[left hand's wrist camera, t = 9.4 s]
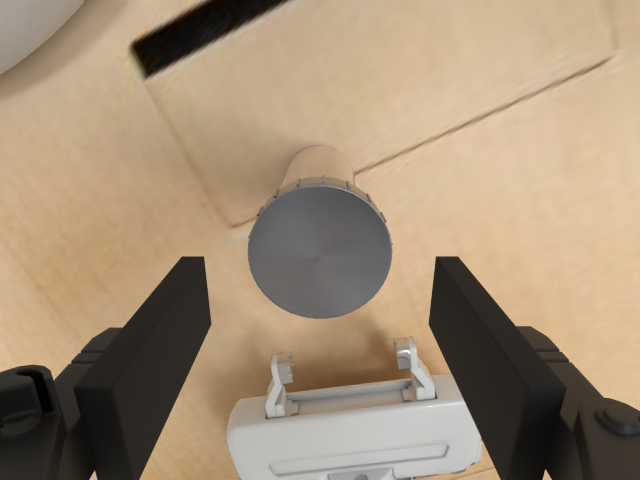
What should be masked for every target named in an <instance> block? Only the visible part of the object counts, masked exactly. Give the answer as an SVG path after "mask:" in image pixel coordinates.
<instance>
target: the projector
mask: <svg viewBox="0 0 640 480" xmlns="http://www.w3.org/2000/svg"><path fill="white" fill-rule="evenodd" d="M85 1H86V0H0V75H1V74H2V73H4V72H5V71H7V70H9V69H10V68H12V67H13V66H15V65H16V64H17V63H19V62H20V61H22V60H23V59H24V58H26V57H27V56H28V55H30V54H31V53H32V52H33V51H35V50H36V49H37V48H38V47H39V46H41V45H42V44H43V43H44V42H45V41H47V40H48V39H49V38H50V37H51V36H52V35H53V34H54V33H55V32H56V31H57V30H59V29H60V28H61V27H62V26H63V25H64V24H65V23H66V22H67V21H68V20H69V19H70V18H71V16H72V15H73V14H74V13H75V12H76V11H77V10H78V9H79V8H80V7H81V5H82V4H83V3H84V2H85Z"/></svg>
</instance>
